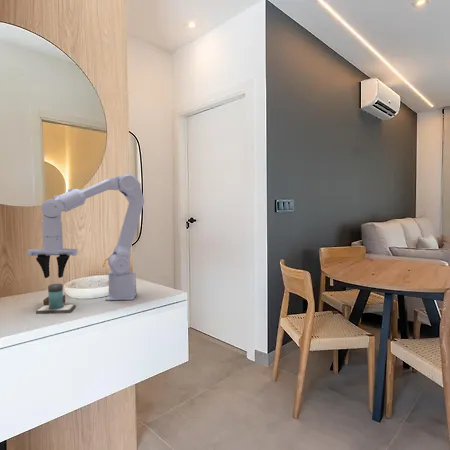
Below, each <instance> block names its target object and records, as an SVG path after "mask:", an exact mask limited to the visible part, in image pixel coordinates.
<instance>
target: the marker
mask: <svg viewBox="0 0 450 450" xmlns="http://www.w3.org/2000/svg"><path fill="white" fill-rule="evenodd" d="M47 292H48V296H49V309H59V308H62V307H63V305H64V304H63V295H64V285H63V284H62V283H52V284H48V286H47Z"/></svg>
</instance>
